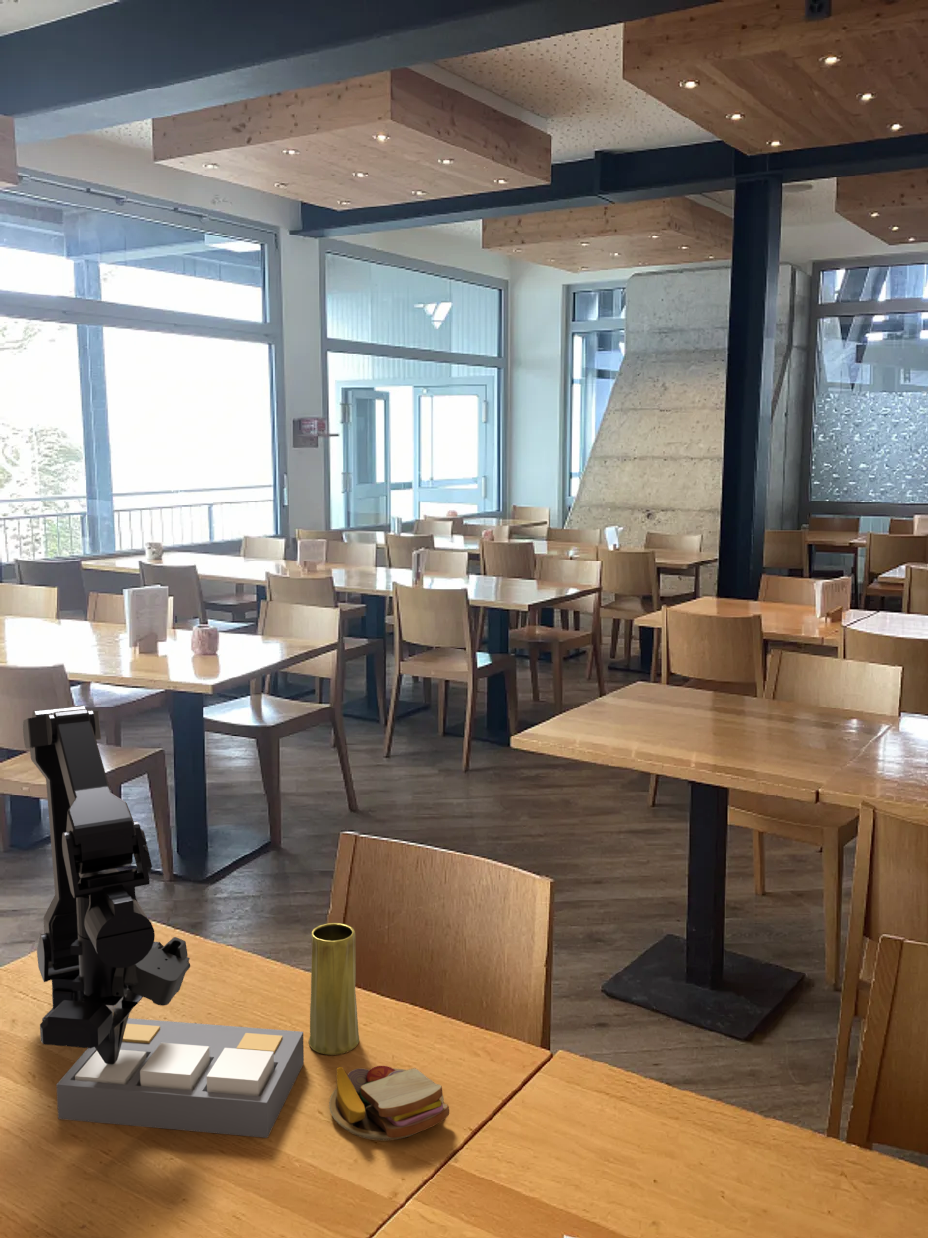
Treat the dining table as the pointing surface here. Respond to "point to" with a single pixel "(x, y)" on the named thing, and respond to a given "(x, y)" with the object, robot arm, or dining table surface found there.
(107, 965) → the robot arm
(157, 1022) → the key panel
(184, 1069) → the key middle
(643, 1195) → the dining table surface
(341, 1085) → the toy sandwich meal
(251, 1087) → the key
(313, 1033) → the vase
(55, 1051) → the dining table surface
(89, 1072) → the key
